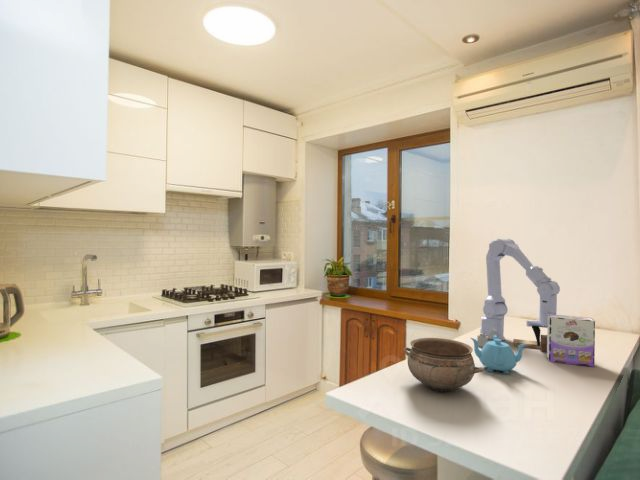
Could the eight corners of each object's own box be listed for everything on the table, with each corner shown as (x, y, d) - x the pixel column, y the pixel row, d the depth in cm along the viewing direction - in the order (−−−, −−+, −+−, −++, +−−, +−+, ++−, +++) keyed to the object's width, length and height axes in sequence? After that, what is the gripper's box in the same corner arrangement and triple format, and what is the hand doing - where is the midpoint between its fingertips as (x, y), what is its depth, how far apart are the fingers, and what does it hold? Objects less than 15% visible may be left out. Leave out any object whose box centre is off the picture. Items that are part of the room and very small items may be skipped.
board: (515, 346, 154) (515, 342, 154) (513, 342, 160) (513, 338, 160) (557, 350, 149) (557, 346, 149) (554, 346, 155) (554, 343, 154)
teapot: (499, 378, 118) (499, 346, 118) (467, 365, 130) (467, 336, 130) (527, 373, 123) (528, 342, 123) (494, 360, 136) (494, 332, 135)
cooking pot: (386, 383, 113) (386, 342, 113) (419, 368, 126) (420, 332, 126) (467, 412, 95) (468, 364, 95) (496, 391, 108) (497, 349, 108)
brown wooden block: (541, 351, 148) (542, 336, 148) (537, 345, 156) (538, 331, 156) (553, 352, 146) (554, 337, 146) (548, 346, 154) (549, 332, 154)
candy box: (590, 362, 135) (592, 317, 135) (594, 367, 130) (596, 320, 130) (546, 356, 141) (547, 313, 141) (548, 361, 136) (549, 316, 136)
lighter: (477, 345, 154) (477, 326, 154) (478, 345, 155) (479, 325, 155) (495, 349, 149) (495, 329, 149) (496, 348, 150) (497, 329, 150)
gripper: (528, 312, 147) (527, 346, 147) (572, 315, 142) (571, 351, 142) (525, 308, 154) (525, 341, 154) (567, 312, 149) (566, 346, 149)
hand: (546, 346), depth 148 cm, fingers open, 5 cm apart
